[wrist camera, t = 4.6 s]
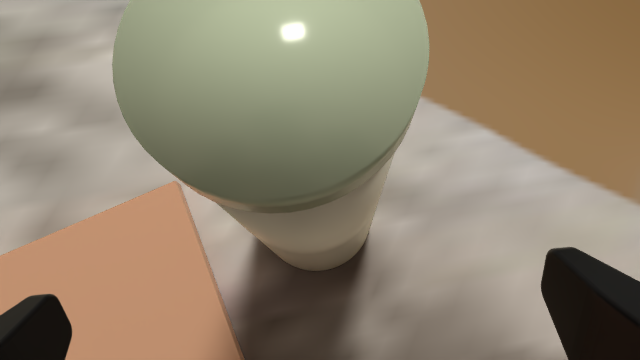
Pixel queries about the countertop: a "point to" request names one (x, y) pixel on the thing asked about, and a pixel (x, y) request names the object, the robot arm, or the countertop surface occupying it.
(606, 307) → the robot arm
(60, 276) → the mat
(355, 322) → the countertop surface
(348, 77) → the spice jar
